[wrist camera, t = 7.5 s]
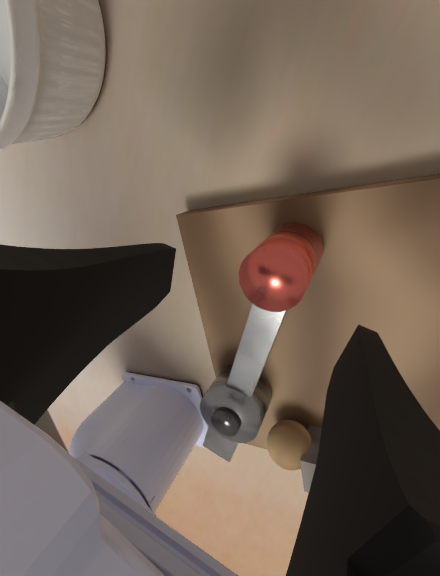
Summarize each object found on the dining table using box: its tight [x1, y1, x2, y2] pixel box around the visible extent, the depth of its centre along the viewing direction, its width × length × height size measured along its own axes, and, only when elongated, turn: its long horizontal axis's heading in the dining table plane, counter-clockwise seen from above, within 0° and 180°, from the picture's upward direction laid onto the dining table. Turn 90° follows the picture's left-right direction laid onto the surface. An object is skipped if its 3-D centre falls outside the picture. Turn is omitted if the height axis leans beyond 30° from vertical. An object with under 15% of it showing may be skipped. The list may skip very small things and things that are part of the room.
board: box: [176, 174, 440, 492], centre depth 19 cm, size 15×20×5 cm
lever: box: [200, 222, 323, 462], centre depth 19 cm, size 18×4×5 cm, turn 167°
